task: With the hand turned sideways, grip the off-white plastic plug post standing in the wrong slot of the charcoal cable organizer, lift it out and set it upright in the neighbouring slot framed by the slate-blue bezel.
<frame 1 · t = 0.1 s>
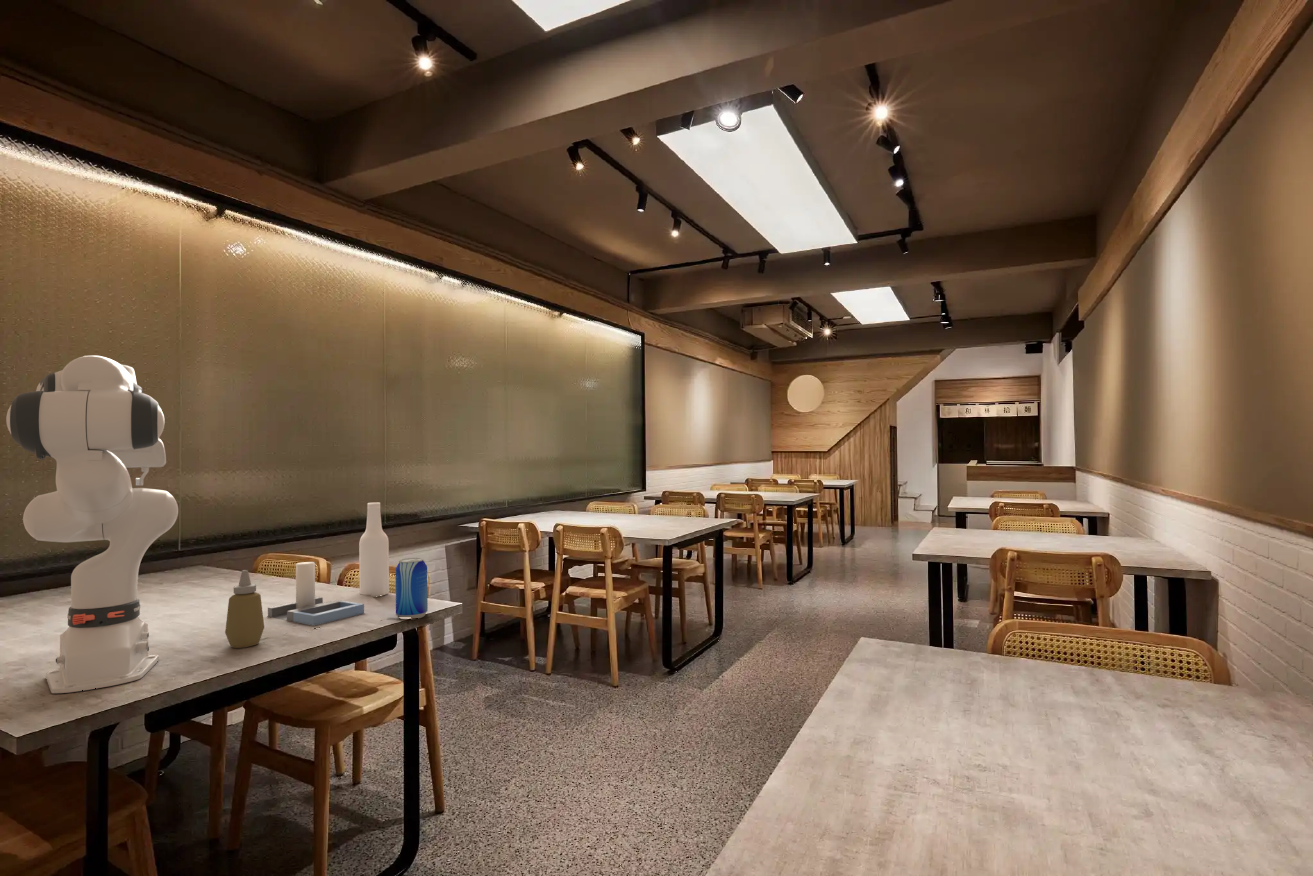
hand: (115, 486, 163), 39 cm above the table, tool pointing down, fingers open, 8 cm apart
squeeze bottle: (245, 645, 160), on the table
beer can: (411, 617, 185), on the table
cable organizer: (316, 618, 185), on the table
plug post: (305, 612, 187), point 1 cm above the table, touching cable organizer
alcohol: (374, 595, 214), on the table
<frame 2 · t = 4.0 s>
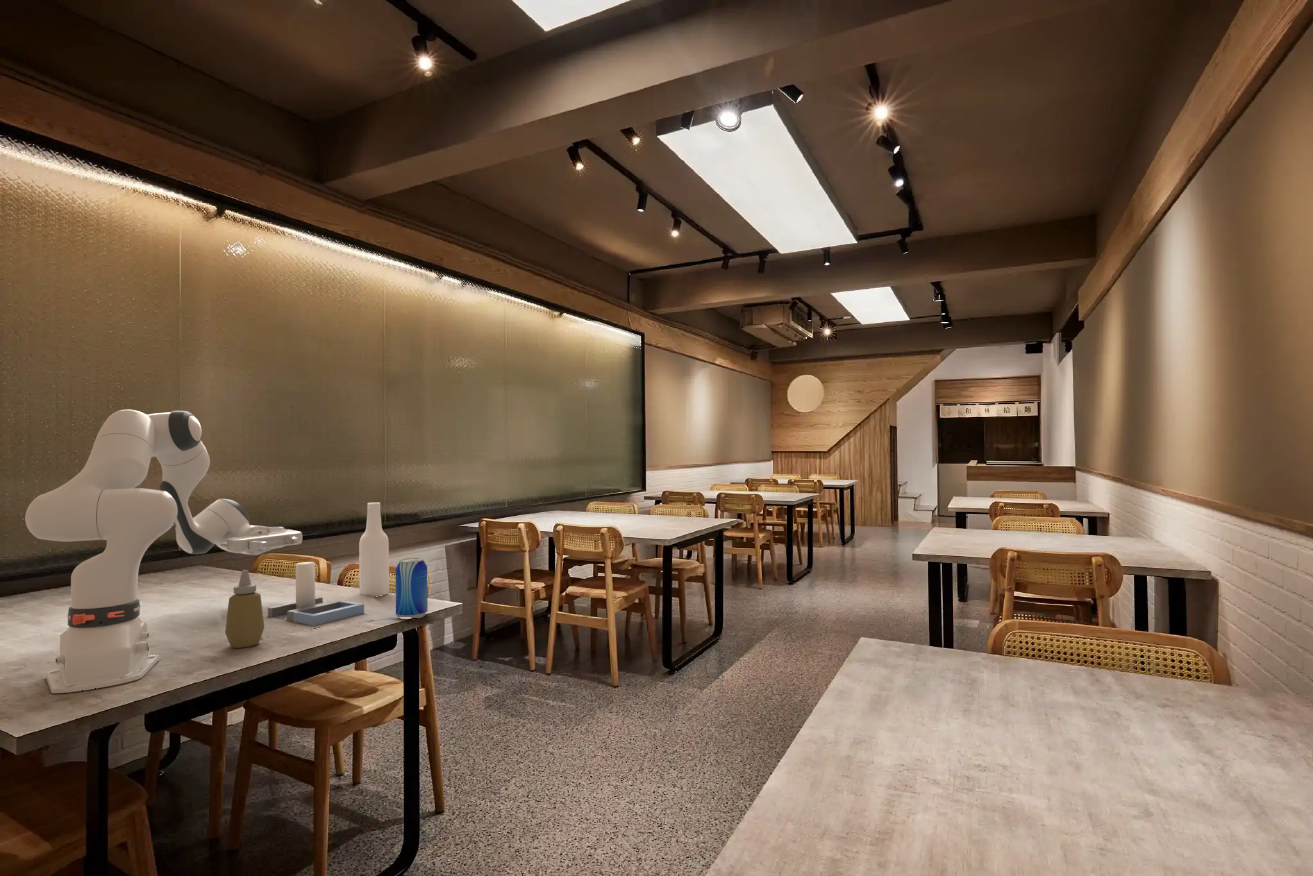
hand: (280, 543, 194), 20 cm above the table, tool horizontal, fingers open, 8 cm apart
nothing on the table moved.
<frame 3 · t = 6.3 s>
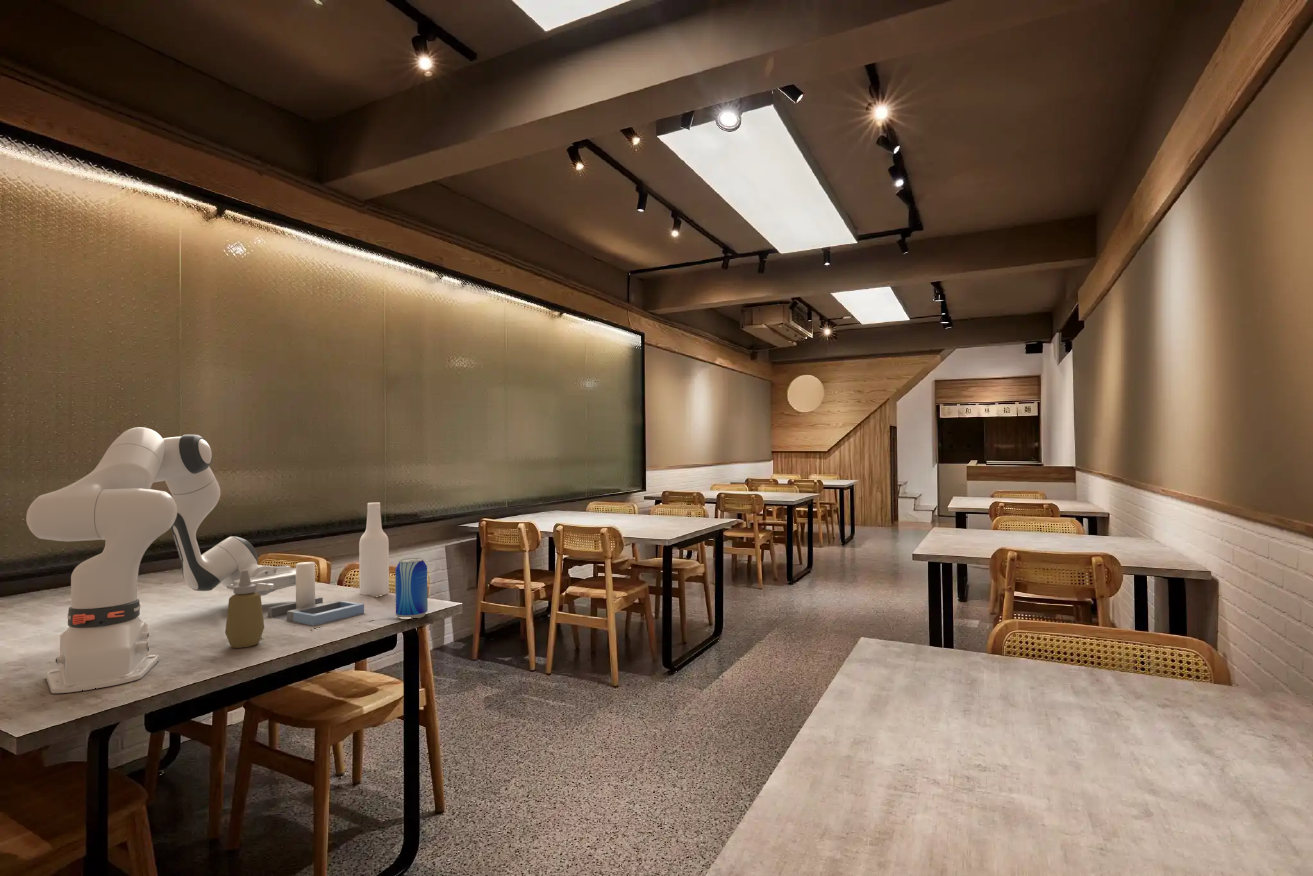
hand: (287, 584, 191), 8 cm above the table, tool horizontal, fingers open, 8 cm apart
nothing on the table moved.
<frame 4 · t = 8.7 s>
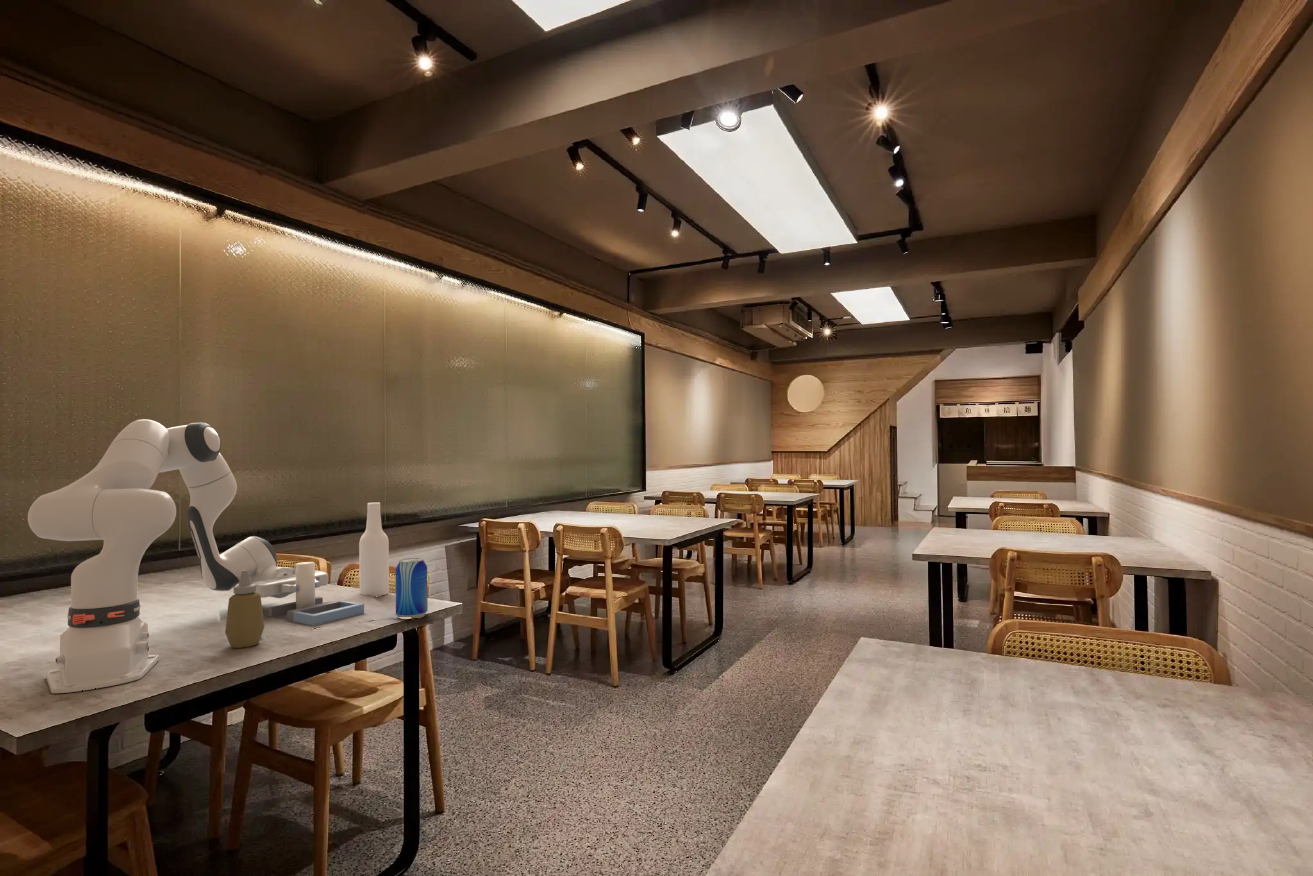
hand: (307, 586, 187), 9 cm above the table, tool horizontal, fingers closed on plug post, 5 cm apart
plug post: (305, 612, 187), point 1 cm above the table, touching cable organizer, gripper
everything else where it was.
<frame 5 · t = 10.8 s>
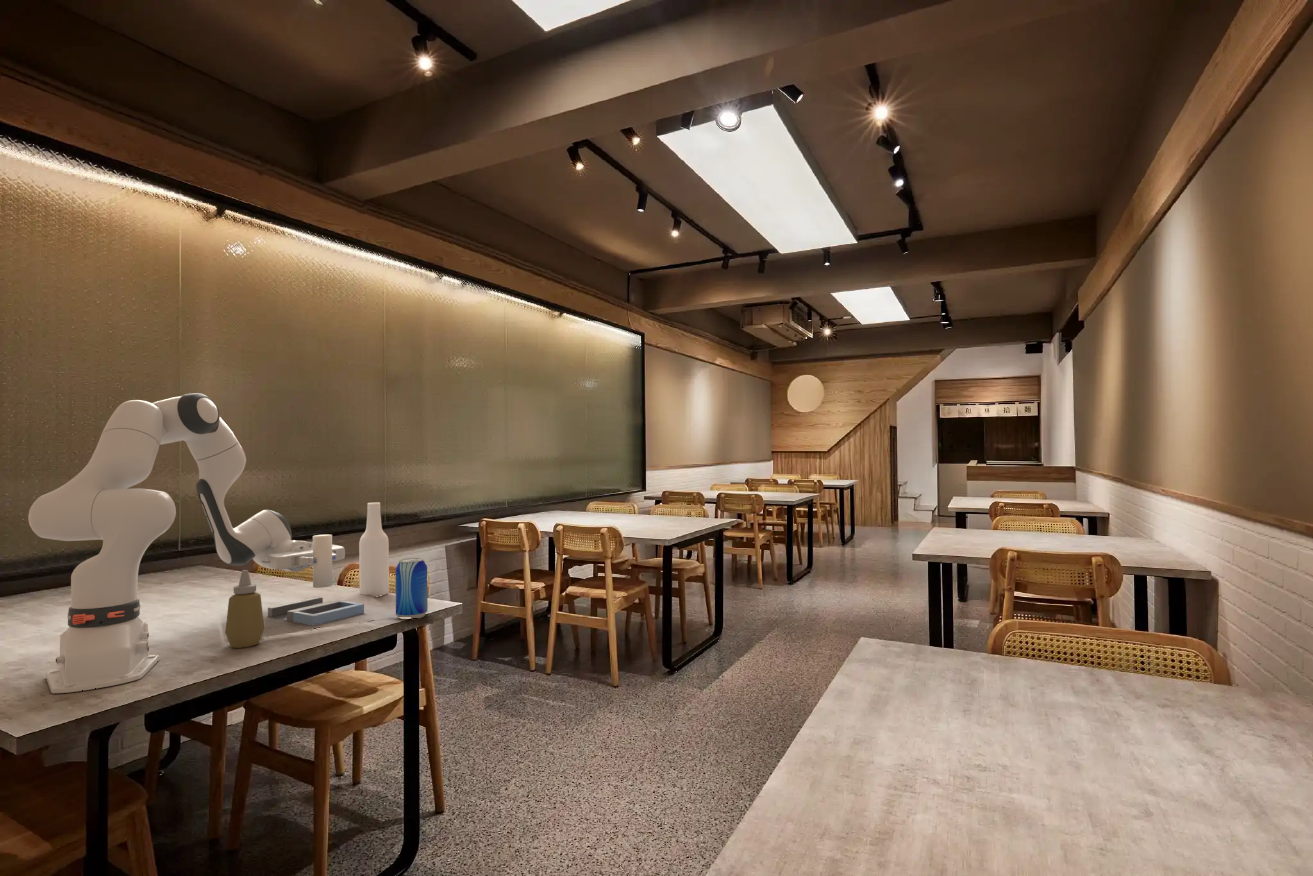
hand: (324, 559, 183), 17 cm above the table, tool horizontal, fingers closed on plug post, 5 cm apart
plug post: (322, 586, 183), point 9 cm above the table, touching gripper
everything else where it was.
when the fingers open (10 cm above the table, at t = 13.1 s): plug post drops 1 cm, resting on cable organizer.
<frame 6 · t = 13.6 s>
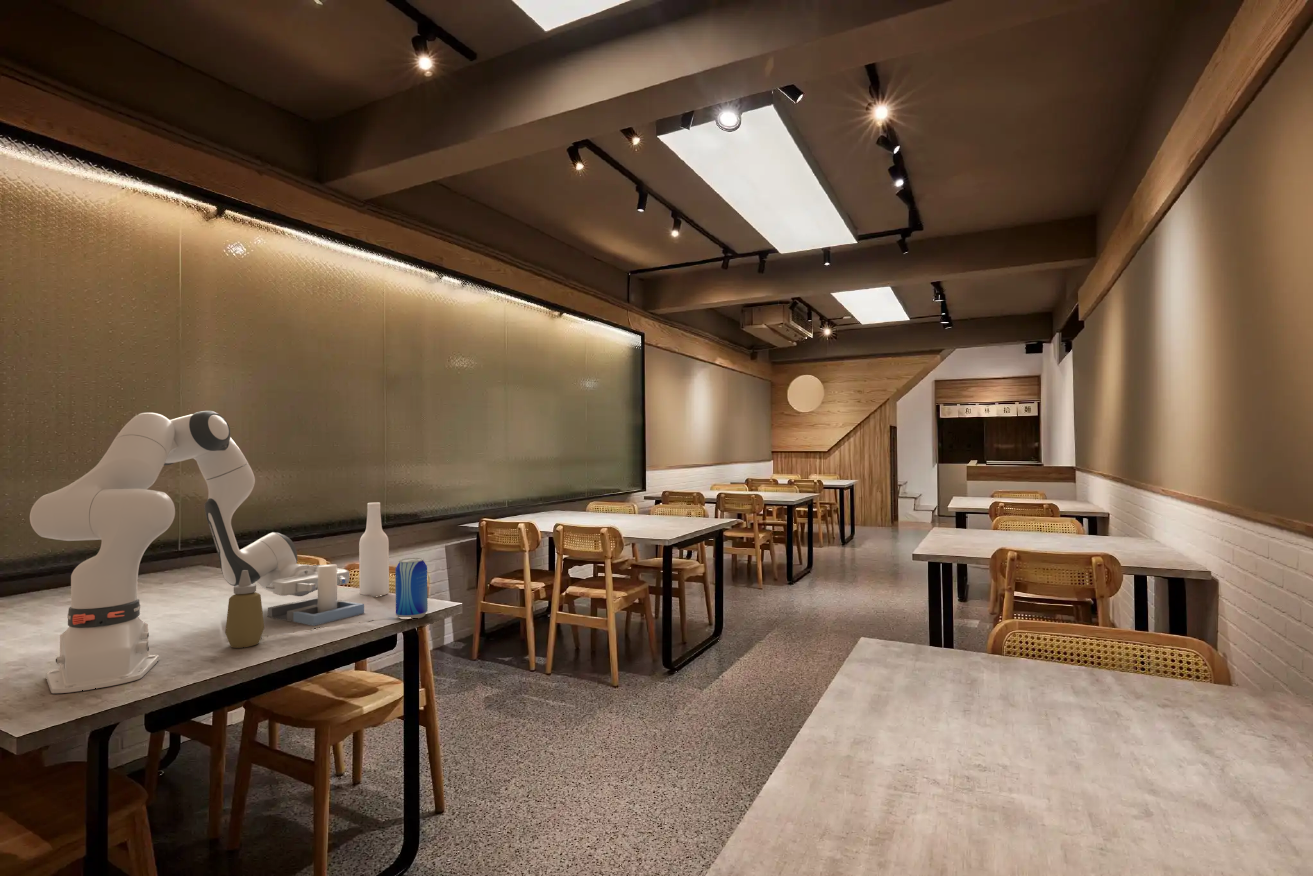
hand: (329, 584, 182), 10 cm above the table, tool horizontal, fingers open, 8 cm apart
plug post: (327, 616, 182), point 1 cm above the table, touching cable organizer
everything else where it was.
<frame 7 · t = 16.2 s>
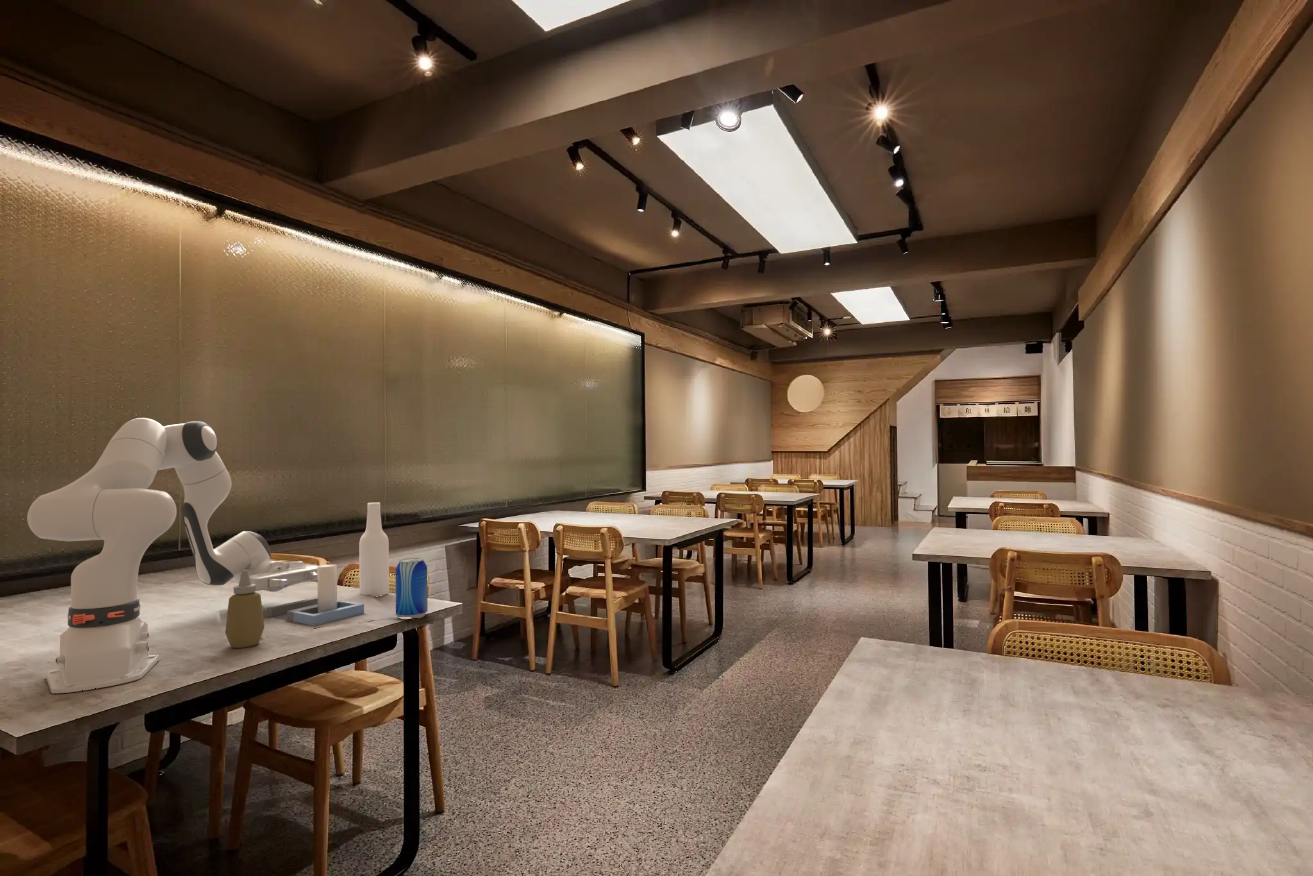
hand: (301, 580, 188), 10 cm above the table, tool horizontal, fingers open, 8 cm apart
nothing on the table moved.
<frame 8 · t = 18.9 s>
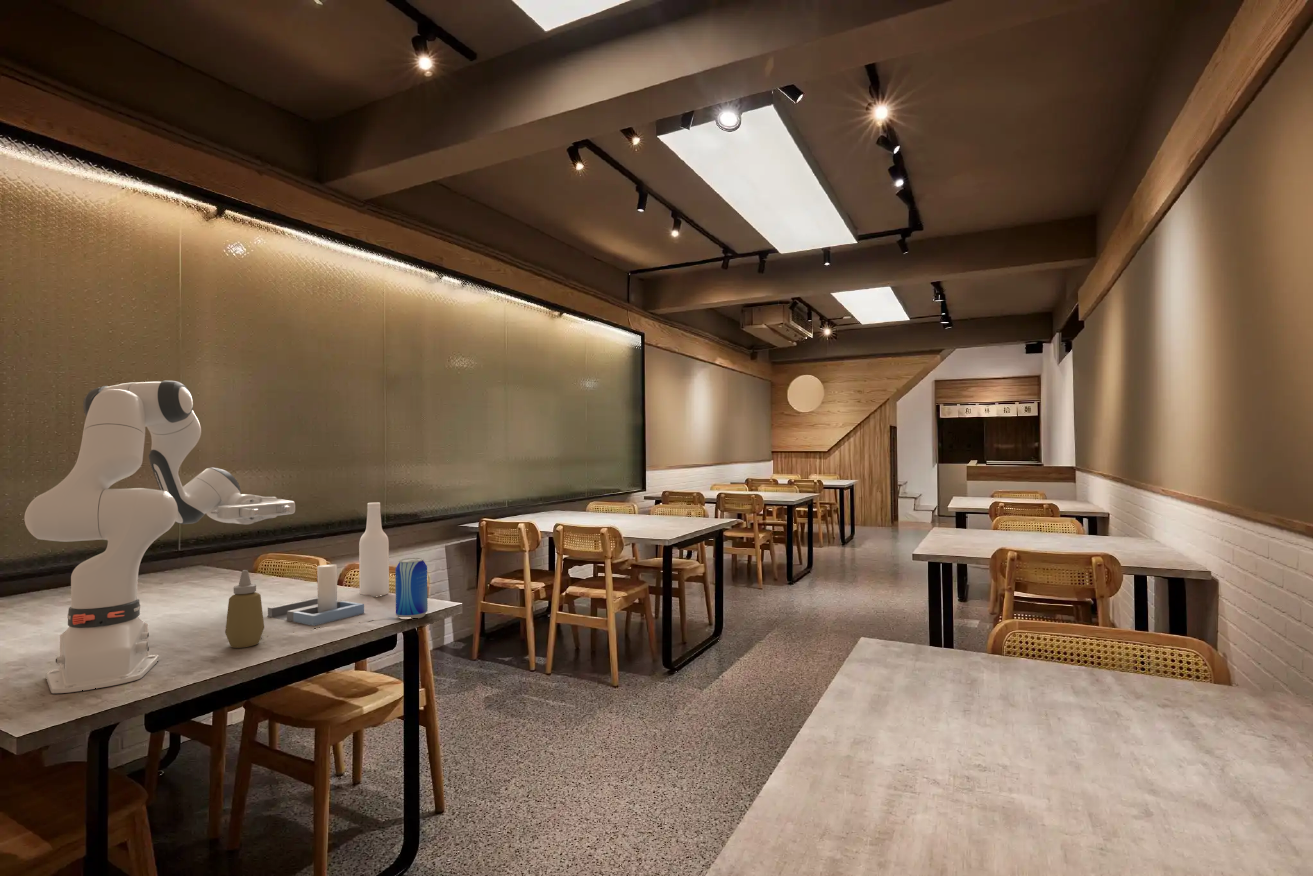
hand: (272, 510, 189), 30 cm above the table, tool horizontal, fingers open, 8 cm apart
nothing on the table moved.
at the end: plug post inside the target area on the cable organizer (0.3 cm from its centre), point 1.0 cm above the cable organizer's base; plug post tilted 0°; the gripper is holding nothing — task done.
